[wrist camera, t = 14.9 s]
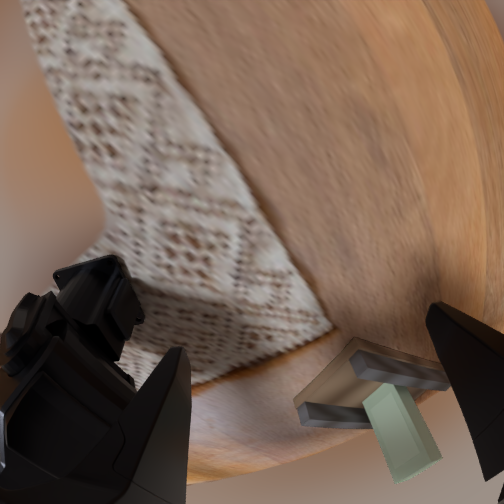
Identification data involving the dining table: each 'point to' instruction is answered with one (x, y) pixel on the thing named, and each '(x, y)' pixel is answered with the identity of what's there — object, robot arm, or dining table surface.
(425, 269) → the dining table surface
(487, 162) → the dining table surface
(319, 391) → the door track
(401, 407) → the sage green panelled box
